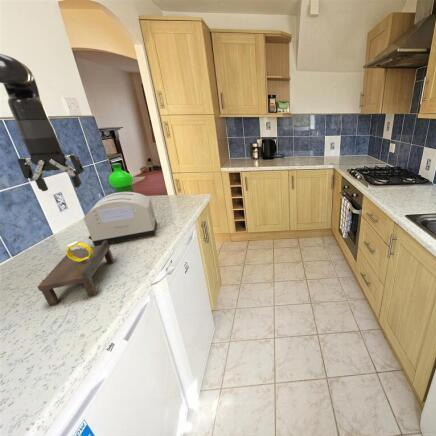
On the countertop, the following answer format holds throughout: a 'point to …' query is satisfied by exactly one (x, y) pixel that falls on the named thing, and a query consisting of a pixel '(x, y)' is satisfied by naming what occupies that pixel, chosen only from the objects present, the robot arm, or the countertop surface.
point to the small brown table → (75, 271)
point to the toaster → (121, 218)
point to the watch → (78, 245)
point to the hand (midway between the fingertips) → (61, 188)
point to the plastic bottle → (120, 179)
